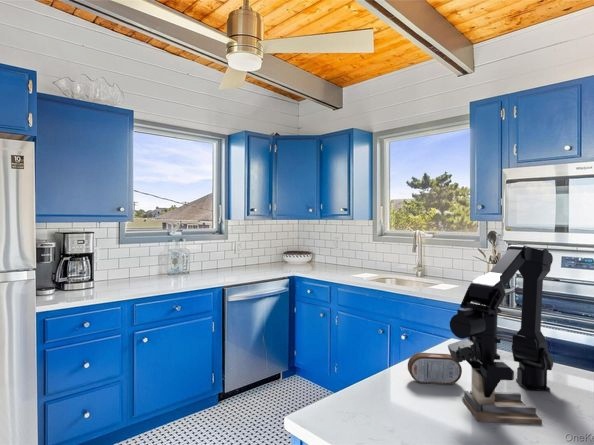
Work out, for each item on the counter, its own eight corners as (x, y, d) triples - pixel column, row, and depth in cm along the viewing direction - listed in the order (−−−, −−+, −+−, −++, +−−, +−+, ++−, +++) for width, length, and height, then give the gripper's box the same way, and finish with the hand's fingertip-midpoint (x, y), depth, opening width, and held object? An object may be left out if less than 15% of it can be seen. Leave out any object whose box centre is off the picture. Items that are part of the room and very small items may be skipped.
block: (487, 399, 99) (488, 368, 99) (494, 407, 95) (495, 375, 95) (471, 399, 100) (472, 368, 100) (477, 406, 96) (478, 374, 96)
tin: (459, 381, 113) (459, 353, 113) (462, 386, 110) (463, 357, 110) (407, 379, 115) (407, 351, 115) (409, 383, 112) (409, 355, 112)
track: (518, 402, 101) (519, 392, 101) (541, 423, 91) (542, 413, 90) (462, 400, 102) (462, 390, 102) (478, 421, 91) (478, 410, 91)
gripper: (440, 321, 107) (439, 376, 107) (465, 343, 88) (464, 410, 89) (481, 322, 106) (480, 378, 107) (515, 344, 88) (514, 412, 88)
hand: (483, 393), depth 98 cm, fingers closed on block, 4 cm apart
